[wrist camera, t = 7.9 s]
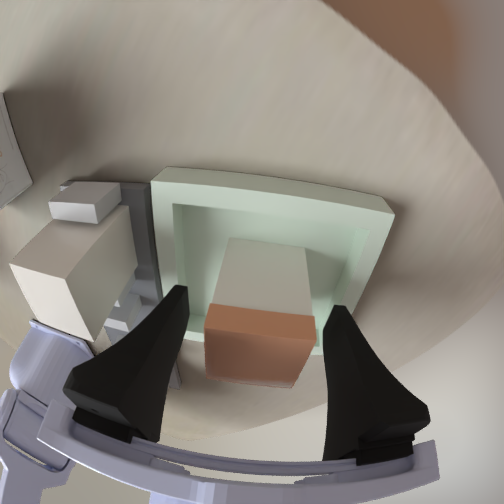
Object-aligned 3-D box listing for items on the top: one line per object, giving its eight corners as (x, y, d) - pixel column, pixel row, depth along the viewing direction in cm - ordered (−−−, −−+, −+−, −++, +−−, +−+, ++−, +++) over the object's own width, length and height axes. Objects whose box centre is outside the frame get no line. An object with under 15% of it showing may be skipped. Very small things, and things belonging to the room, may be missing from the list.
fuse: (87, 256, 16) (39, 321, 11) (73, 201, 13) (8, 263, 8) (138, 264, 15) (94, 342, 11) (128, 205, 13) (65, 279, 8)
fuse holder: (131, 372, 26) (123, 396, 24) (66, 176, 13) (32, 200, 10) (181, 384, 26) (175, 410, 24) (149, 178, 13) (119, 206, 10)
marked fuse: (224, 292, 17) (206, 378, 12) (228, 236, 14) (203, 326, 9) (290, 301, 17) (291, 388, 12) (305, 247, 14) (316, 340, 9)
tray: (178, 315, 19) (170, 336, 17) (166, 166, 13) (150, 181, 11) (326, 333, 19) (329, 355, 17) (381, 196, 13) (395, 214, 11)
